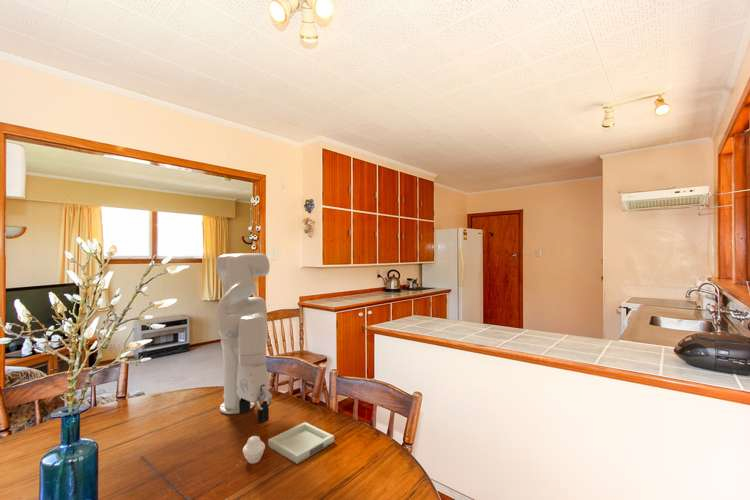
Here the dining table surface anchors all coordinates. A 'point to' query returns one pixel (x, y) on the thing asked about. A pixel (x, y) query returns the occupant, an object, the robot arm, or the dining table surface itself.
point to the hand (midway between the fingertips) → (253, 417)
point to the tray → (300, 442)
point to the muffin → (253, 449)
